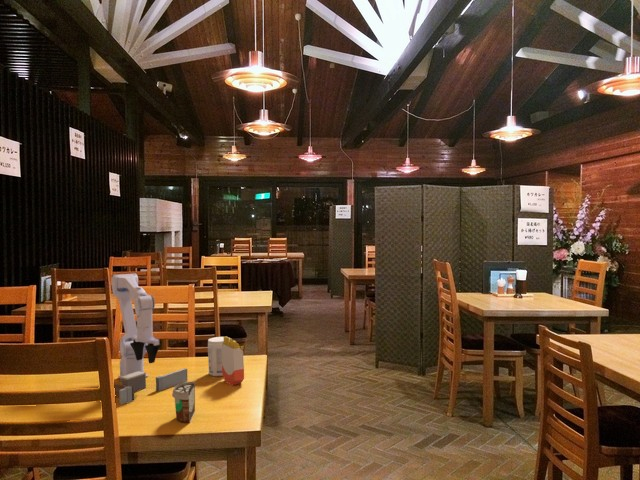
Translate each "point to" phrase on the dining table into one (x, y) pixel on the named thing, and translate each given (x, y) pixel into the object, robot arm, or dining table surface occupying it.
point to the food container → (184, 401)
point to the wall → (157, 384)
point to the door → (119, 387)
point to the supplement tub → (215, 355)
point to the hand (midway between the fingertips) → (145, 361)
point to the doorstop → (135, 380)
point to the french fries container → (232, 362)
